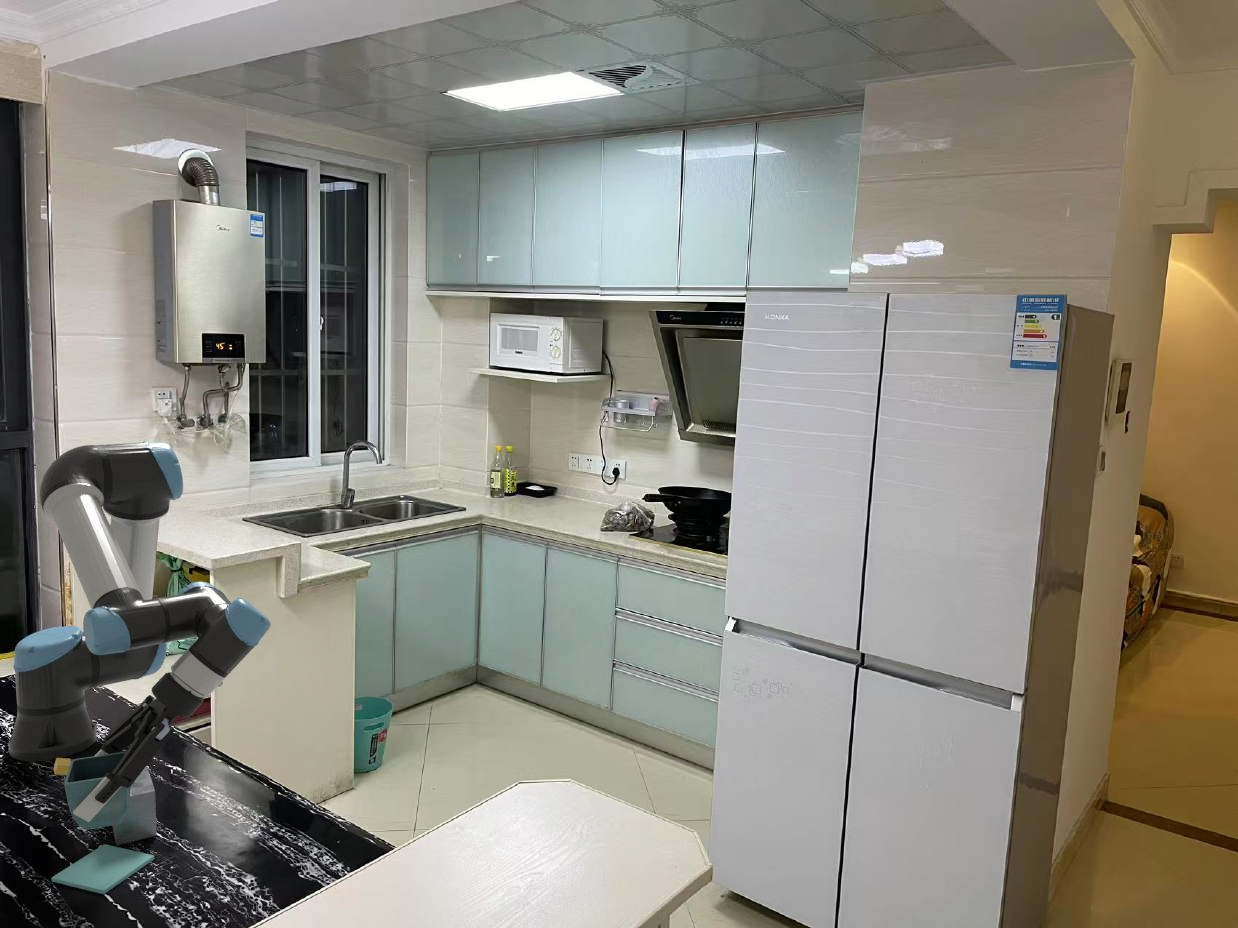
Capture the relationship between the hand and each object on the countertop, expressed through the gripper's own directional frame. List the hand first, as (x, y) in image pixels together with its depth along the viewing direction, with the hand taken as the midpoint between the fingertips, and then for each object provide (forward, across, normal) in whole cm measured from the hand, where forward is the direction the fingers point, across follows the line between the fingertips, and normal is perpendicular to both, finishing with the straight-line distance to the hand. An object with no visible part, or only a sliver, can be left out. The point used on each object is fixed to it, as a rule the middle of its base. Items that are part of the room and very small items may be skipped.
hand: (78, 802), depth 142 cm
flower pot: (+1, 0, -5) cm, 5 cm away
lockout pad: (+7, 0, -11) cm, 13 cm away
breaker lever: (-4, +15, -8) cm, 18 cm away
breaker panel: (+3, +13, -15) cm, 20 cm away
